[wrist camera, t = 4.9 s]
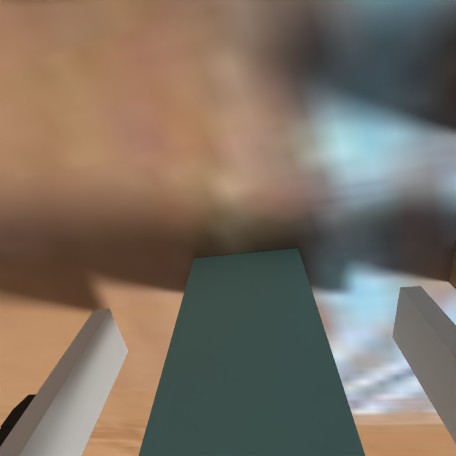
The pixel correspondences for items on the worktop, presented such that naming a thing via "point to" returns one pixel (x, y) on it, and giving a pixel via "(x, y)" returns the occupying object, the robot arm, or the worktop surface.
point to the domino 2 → (453, 270)
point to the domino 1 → (250, 367)
